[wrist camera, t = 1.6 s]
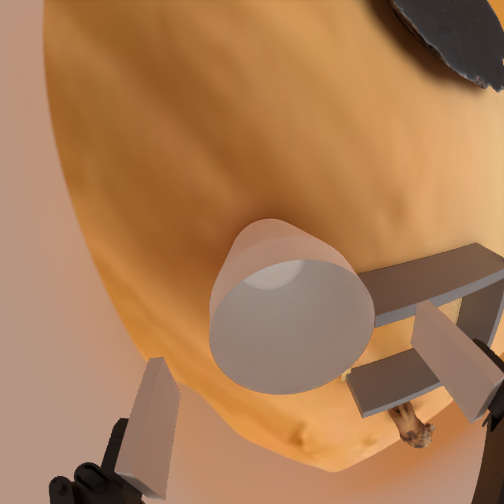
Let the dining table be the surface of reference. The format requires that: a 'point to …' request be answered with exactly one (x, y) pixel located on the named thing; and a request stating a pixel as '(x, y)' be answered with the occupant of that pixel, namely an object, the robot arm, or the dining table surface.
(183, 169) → the dining table surface
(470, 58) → the board
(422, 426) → the lion figurine
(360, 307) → the cup
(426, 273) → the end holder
